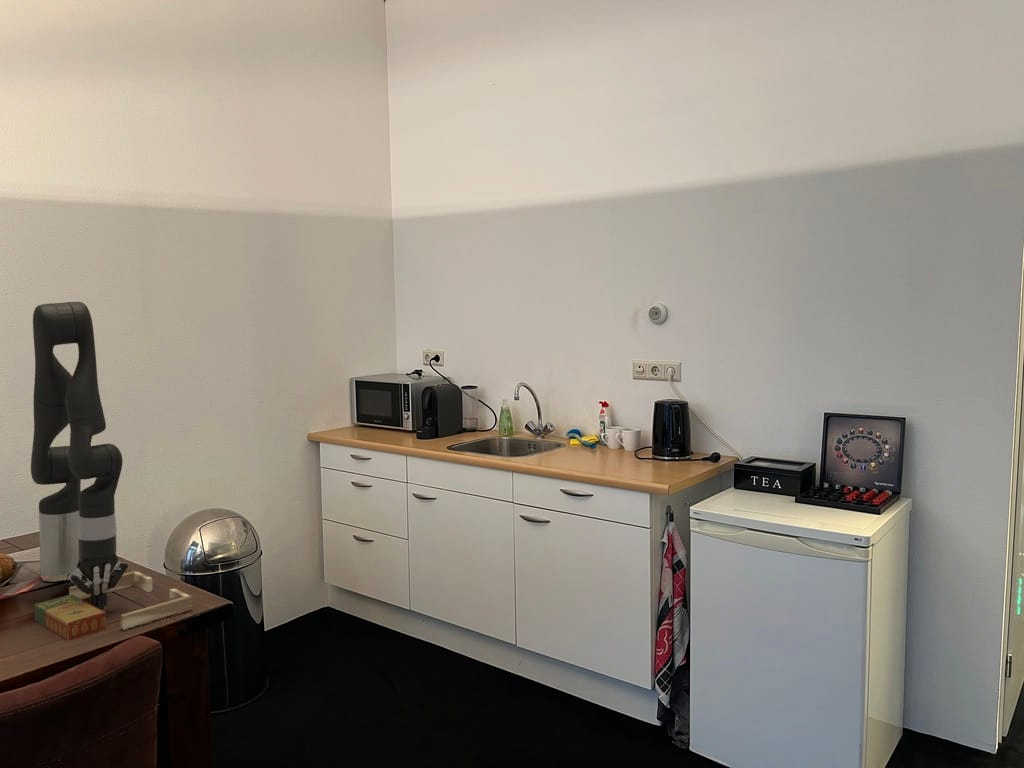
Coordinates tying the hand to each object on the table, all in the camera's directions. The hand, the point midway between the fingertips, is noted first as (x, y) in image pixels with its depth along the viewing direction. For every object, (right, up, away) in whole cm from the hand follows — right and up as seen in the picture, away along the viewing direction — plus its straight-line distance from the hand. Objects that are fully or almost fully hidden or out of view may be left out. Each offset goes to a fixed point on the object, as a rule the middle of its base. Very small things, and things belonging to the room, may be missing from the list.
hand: (98, 608), depth 183 cm
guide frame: (+4, -1, +6) cm, 7 cm away
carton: (-3, -2, -6) cm, 7 cm away
